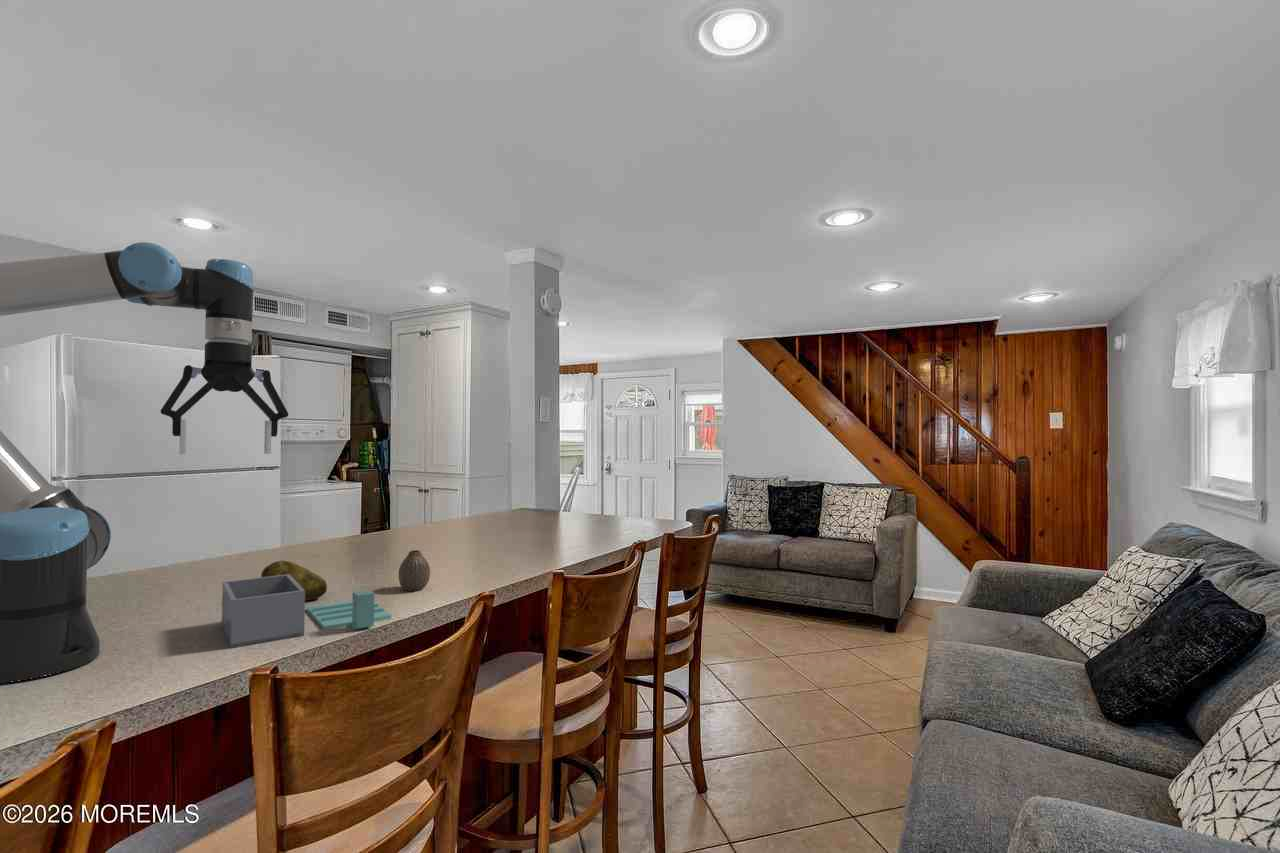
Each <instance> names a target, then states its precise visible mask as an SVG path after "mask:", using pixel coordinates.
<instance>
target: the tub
mask: <svg viewBox="0 0 1280 853" xmlns="http://www.w3.org/2000/svg"><path fill="white" fill-rule="evenodd" d="M221 591H222V595H221V596H222V597H221V598H222V599H221V600H222V601H221V604H222V605H221V627H222V629H223V631H224V635H225V637H226V639H228V640H227V642H228V645H229V644H230V645H229V647H230V648H231V647H235V648H238V647H237V646H241V647H245V646H244V645H246V646H251V645H250V644H252V645H256V643H258V644H263V643H269V642H273V641H280V640H286V638H287V639H291V638H298V637H303V636H305V613H306V612H305V611H306V610H305V608H306V604H305V603H306V601H305V590H304V589H303V588H302V587H301V586H300V585H299V584H298V583H297V582H296V581H295V580H294V578H293V577H292V576H291V575H290V574H287V575H278V576H270V577H261V576H260V577H253V578H245V579H236V580H229V581H228V580H227V581H222V590H221Z"/></svg>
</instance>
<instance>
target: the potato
mask: <svg viewBox="0 0 1280 853" xmlns="http://www.w3.org/2000/svg"><path fill="white" fill-rule="evenodd" d="M287 574H290V575H291V576H292V577H293V578H294V580H295V581H296V582H297V583H298V584H299V585H300V586H301V587H302V588H303V589H304V590H305V602H306V601H311V600H317V599H319V598H320V597H322V596H324V594H326V593H327V591H328V590H327V588H328V586H327V581H326V579H325V578H323V577H322V576H321V575H319V574H316V573H315V572H312V571H311V570H309V569H308V568H305V567H303V566H302V565H299V564H297V563H295V562H293V561H289V560H288V561H287V560H279V561H273V562H271V564H269V565H267V566H266V567H264V568H263V570H262V572H261V574H260V578H261V577H270V576H278V575H287Z"/></svg>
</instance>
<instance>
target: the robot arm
mask: <svg viewBox="0 0 1280 853" xmlns="http://www.w3.org/2000/svg"><path fill="white" fill-rule="evenodd" d="M253 272H254V271H253V269H252V268H251V267H250V266H249V265H248V264H246V263H244V262H242V261H238V260H234V259H233V260H232V259H220V258H211V259H209V260H207V262H206V265H205V268H194V267H185V266H181V263H180V262H179V261H178V259H177V257H175V256H174V254H173V253H172V252H170V251H168V250H167V249H166V248H164V247H163V246H161V245H158V244H156V243H152V242H148V241H147V242H146V241H141V242H135V243H132V244H130V245H128V246H126V247H125V248H124V249H122V250H114V251H107V252H97V253H95V252H94V253H86V254H79V255H78V254H76V255H67V256H57V257H46V258H39V259H38V258H36V259H29V260H18V261H17V260H16V261H8V262H0V317H3V316H10V315H18V314H23V313H31V312H39V311H45V310H47V311H48V310H53V309H61V308H67V307H75V306H81V305H82V306H83V305H89V304H96V303H103V302H104V303H105V302H109V301H110V302H113V301H119V300H127V301H128V302H129V303H134V304H140V305H146V306H149V307H152V306H160V307H173V308H181V309H183V308H184V309H193V310H205V322H204V339H205V340H206V341H207V342H206V343H205V344H204V362H203V363H204V364H203V367H202V368H201V367H196V366H192V365H190V364H187V365H185V366H184V367H183V371H182V377H181V379H180V381H179V382H178V383H177V385H176V386H175V388H174V389H173V391H172V393H171V394H170V396H168V398H167V400H166V401H165V403H164V404H163V405H162V408H161V409H160V414H161V415H164V416H168V417H170V418H171V420H172V427H171V428H172V429H171V430H172V431H171V432H172V435H173V437H179V455H183V456H184V455H186V448H187V447H186V445H187V444H186V443H187V442H186V438H187V419H186V418H182V417H183V416H184V415H185V414H186V413H187V412H188V411H190V410H191V408H193V407H194V406H195V405H196V404H197V403H198V402H199V401H200V400H201V399H203V398H204V396H206V394H208V393H209V392H211V390H214V391H217V392H225V391H227V392H230V393H238V392H242V391H243V393H244V394H245V395H246V396H247V397H249V398H250V400H251V401H252V402H253V403H254V404H255V405H256V406H257V407H258V409H260V410H261V411H262V412H263V413H264V414H265V416H266V417H267V418H268V419H269V420H265V421H264V442H263V444H264V445H263V446H264V449H263V450H264V452H263V453H264V454H268V455H270V454H272V437H277V436H278V424H279V423H278V422H279V421H280V420H281V419H285V418H287V417H289V412H288V411H287V408H286V407H285V405H284V403H283V401H282V399H281V397H280V395H279V394H278V392H277V390H276V387H275V386H274V385H273V384H274V383H272V378H271V376H272V375H271V372H270V370H261V371H259V370H258V371H257V370H256V371H254V370H253V367H252V360H253V357H252V356H253V354H252V353H253V348H252V347H251V345H250V344H251V343H252V341H253V307H254V278H253V277H254V276H253V275H254V273H253ZM199 374H201V376H202V377H203V378H204V379H205V381H206V383H205V384H204V385H203V386H202V387H201V388H200V389H198V390H197V392H195V393H194V394H193V395H192V396H191V397H190V398H189V399H187V400H186V401H185V402H184V403H183V404H182V405H180V407H178V409H177V410H173V407H174V405H175V404H176V402H177V401H178V399H180V396H181V395H182V394H183V392H184V390H185V389H186V387H187V386H188V385H189V383H190V381H191V379H195V378H196V377H197V376H198V375H199ZM254 378H256V379H257V381H258V382H260V383H262V385H263V387H264V390H265V392H266V393H267V394H268V397H269V398H270V400H271V402H272V404H273V406H274V408H275V410H276V411H277V412H275V411H274V410H273V409H272V407H270V406H269V405H268V403H267V402H266V401H265V400H263V398H262V397H261V396H260V395H259V394H258V393H257V392H256V391H255V390H254V388H252V386H251V385H250V382H251V381H252V380H253V379H254ZM111 538H112V530H111V527H110V524H109V522H108V520H107V519H106V518H105V516H104V515H102V513H100V512H99V511H97V510H96V509H93V508H91V507H90V506H87V505H85V504H84V503H83V502H82V501H81V500H80V499H79V498H78V497H77V496H76V494H75V493H74V492H73V491H72V490H71V489H70V488H69V487H67V486H60V485H53V484H50V482H48V481H47V479H46V478H45V477H44V476H43V475H42V474H41V473H40V472H39V471H38V470H37V468H36V467H34V465H33V464H32V463H31V462H30V461H29V460H28V458H26V457H25V455H23V454H22V452H21V451H20V450H19V449H18V448H17V447H16V446H15V445H14V444H13V443H12V442H11V441H10V439H9V438H8V437H7V436H6V435H5V434H4V433H3V432H2V431H1V430H0V683H2V684H7V683H6V682H11V681H18V680H25V679H31V678H36V677H41V676H44V675H49V674H54V673H58V672H62V671H65V672H67V671H66V670H68V671H71V670H74V669H77V668H80V667H81V666H84V664H85V665H87V664H88V662H89V663H91V662H92V661H94V660H95V659H97V658H98V657H97V656H98V655H100V654H99V653H101V652H100V650H101V649H100V647H101V646H100V644H101V642H100V637H99V636H98V632H97V630H96V628H95V626H94V624H93V621H92V618H91V617H90V614H89V611H88V609H87V577H88V576H87V575H88V573H87V572H88V571H87V570H88V569H90V568H92V567H93V566H94V567H95V565H97V564H98V563H99V562H100V560H101V559H103V557H104V556H105V555H106V552H107V551H108V549H109V547H110V543H111V540H112V539H111ZM96 657H97V658H96ZM93 659H94V660H93ZM90 661H91V662H90ZM86 663H87V664H86ZM79 666H80V667H79ZM76 667H77V668H76ZM73 668H74V669H73ZM70 669H71V670H70ZM62 673H63V672H62ZM58 674H59V673H58ZM54 675H55V674H54ZM41 678H42V677H41ZM31 680H32V679H31Z"/></svg>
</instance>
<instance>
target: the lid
mask: <svg viewBox="0 0 1280 853" xmlns="http://www.w3.org/2000/svg"><path fill="white" fill-rule="evenodd" d="M306 611H307V613H308V614H309V615H310V617H312V618H313V619H314V620H315V621H317V622H316V623H317V624H318V625H319V627H321V629H322V630H323V631H328V630H333V629H338V628H346V627H351V629H353V630H355V631H357V630H361V629H367V628H372V626H375V625H374V624H375V622H380V621H385V620H390V619H391V620H392V614H391V613H389V612H388V611H387V610H386V609H384V607H382V606H380V605H379V603H376V602H375V592H373V591H372V590H371V589H365V590H359V591H353V592H352V600H345V601H338V602H330V603H324V604H319V605H318V604H317V605H311V606H306Z"/></svg>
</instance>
